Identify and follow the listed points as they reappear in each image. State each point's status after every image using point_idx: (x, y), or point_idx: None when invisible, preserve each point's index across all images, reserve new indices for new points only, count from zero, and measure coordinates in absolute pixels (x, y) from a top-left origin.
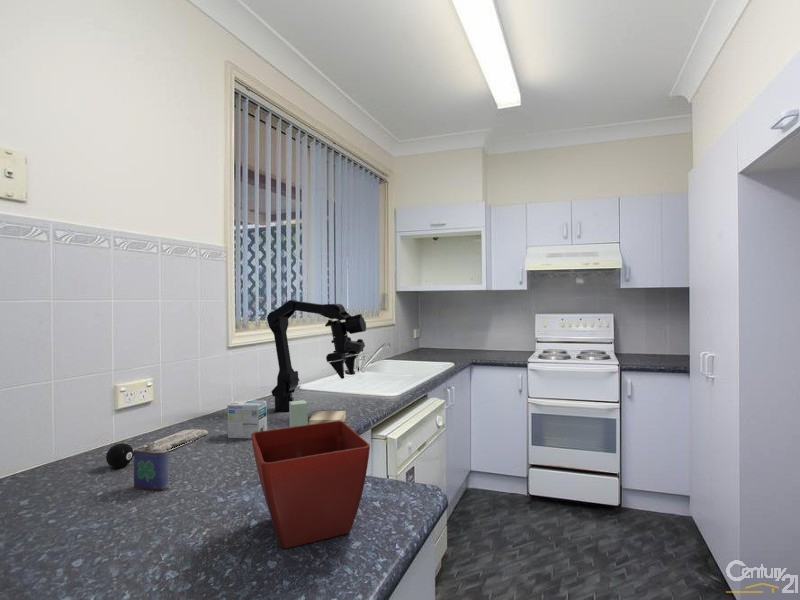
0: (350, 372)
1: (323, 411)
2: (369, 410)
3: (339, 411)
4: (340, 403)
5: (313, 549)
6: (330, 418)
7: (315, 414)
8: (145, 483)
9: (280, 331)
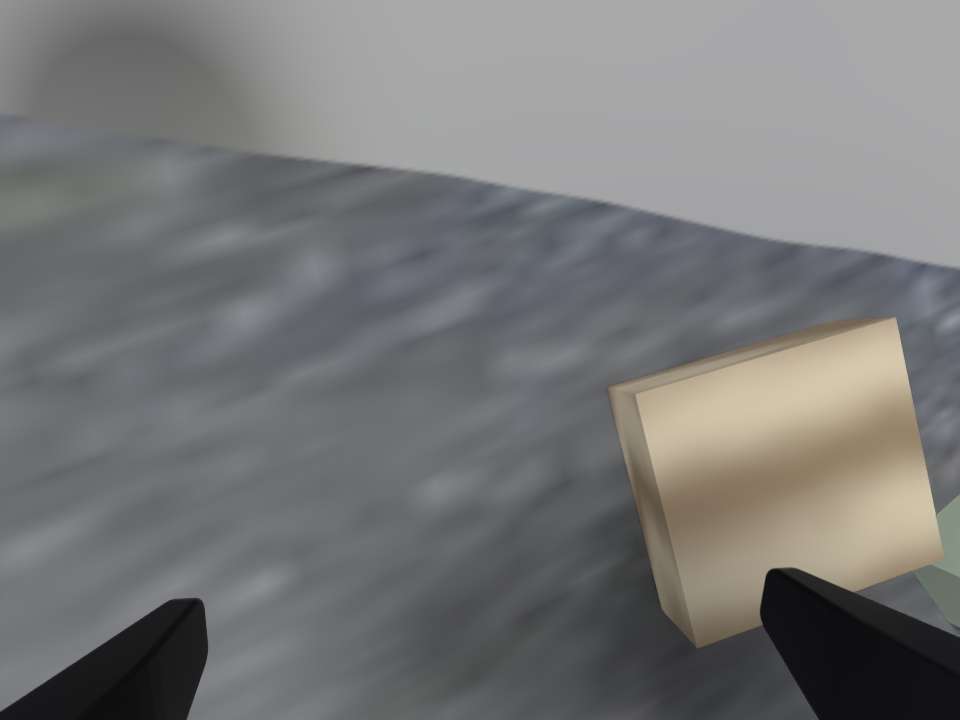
0: (183, 700)
1: (689, 578)
2: (287, 290)
3: (665, 440)
4: None
5: None
6: (878, 416)
7: None
8: None
9: None
